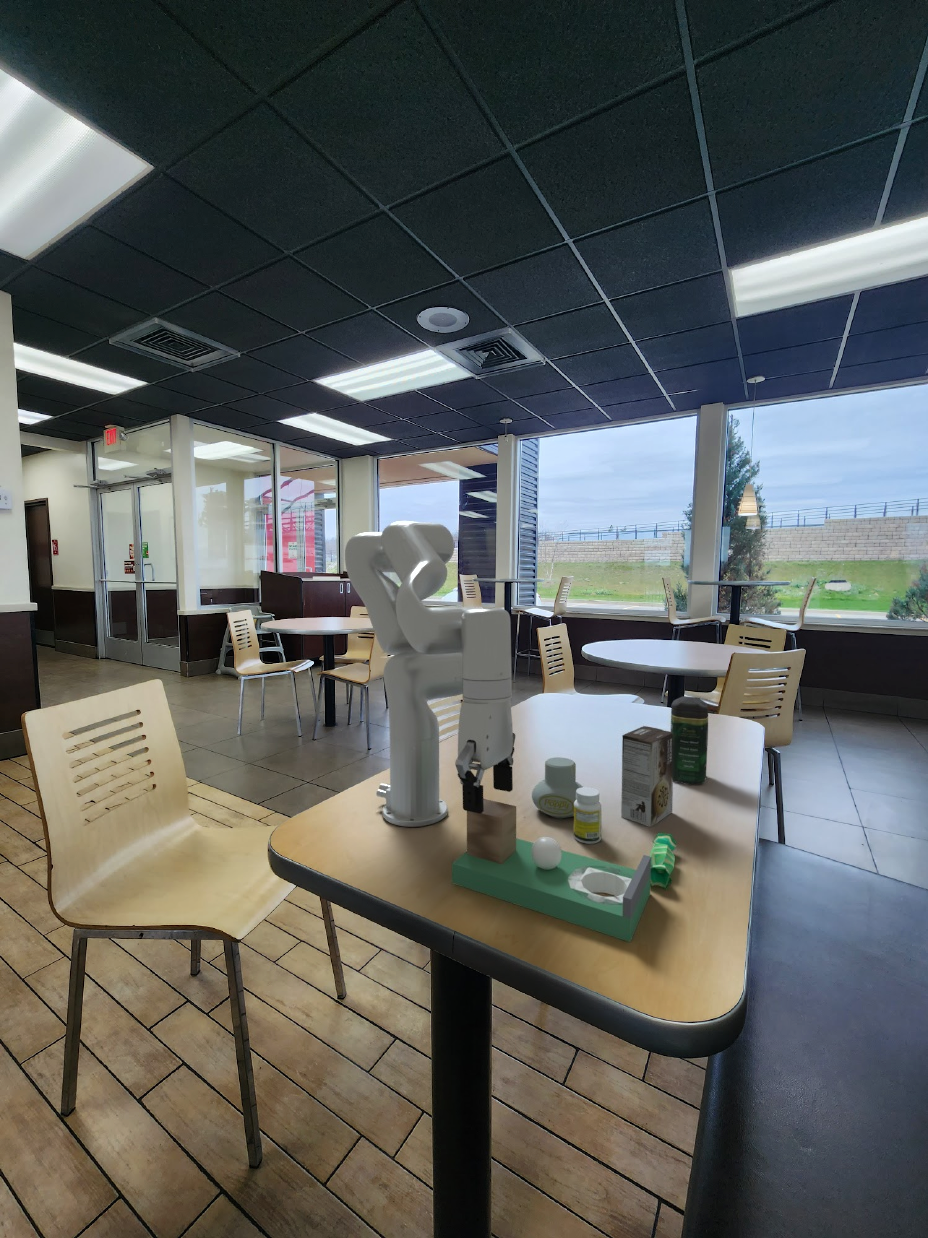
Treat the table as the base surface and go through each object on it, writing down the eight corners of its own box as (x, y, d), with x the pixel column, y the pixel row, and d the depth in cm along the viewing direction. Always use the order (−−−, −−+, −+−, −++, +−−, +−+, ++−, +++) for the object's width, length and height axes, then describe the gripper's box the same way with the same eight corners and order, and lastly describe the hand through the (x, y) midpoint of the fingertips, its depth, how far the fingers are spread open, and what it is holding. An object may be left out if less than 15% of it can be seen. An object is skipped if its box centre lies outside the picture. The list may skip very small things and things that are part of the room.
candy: (676, 888, 76) (660, 861, 77) (655, 896, 78) (639, 870, 78) (681, 850, 87) (666, 827, 88) (662, 858, 88) (648, 835, 89)
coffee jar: (706, 788, 116) (708, 704, 115) (667, 782, 119) (669, 700, 118) (706, 774, 125) (708, 695, 123) (670, 769, 128) (672, 692, 127)
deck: (452, 883, 79) (451, 847, 79) (489, 848, 89) (489, 816, 89) (630, 942, 66) (631, 899, 65) (650, 894, 76) (650, 856, 76)
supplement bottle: (581, 829, 96) (581, 784, 96) (605, 837, 93) (606, 790, 93) (568, 839, 93) (569, 792, 92) (593, 847, 90) (594, 799, 89)
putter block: (466, 854, 82) (466, 809, 81) (482, 840, 86) (482, 798, 85) (501, 864, 79) (501, 818, 78) (516, 850, 83) (516, 806, 82)
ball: (526, 870, 77) (526, 841, 77) (538, 857, 81) (538, 829, 80) (555, 879, 75) (555, 848, 74) (565, 864, 78) (566, 835, 78)
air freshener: (527, 816, 102) (527, 765, 101) (536, 800, 110) (537, 752, 109) (585, 825, 98) (586, 772, 98) (590, 807, 106) (591, 758, 105)
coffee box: (642, 803, 108) (643, 725, 107) (673, 813, 103) (675, 731, 102) (619, 817, 101) (620, 734, 100) (651, 828, 97) (653, 741, 96)
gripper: (491, 680, 90) (493, 779, 91) (434, 697, 75) (437, 815, 76) (532, 682, 86) (533, 786, 87) (481, 701, 72) (483, 826, 72)
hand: (488, 800), depth 82 cm, fingers open, 9 cm apart
